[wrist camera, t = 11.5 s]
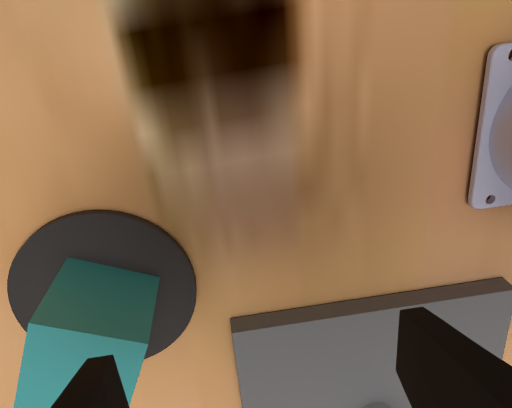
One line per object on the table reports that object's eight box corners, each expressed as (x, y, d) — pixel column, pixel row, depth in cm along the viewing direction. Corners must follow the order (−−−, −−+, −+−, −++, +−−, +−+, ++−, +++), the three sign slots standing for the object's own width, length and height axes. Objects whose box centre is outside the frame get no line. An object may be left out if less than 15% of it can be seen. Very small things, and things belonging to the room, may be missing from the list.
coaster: (180, 198, 19) (180, 203, 19) (207, 343, 23) (207, 351, 22) (-15, 223, 19) (-22, 229, 18) (44, 368, 22) (40, 377, 22)
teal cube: (159, 277, 20) (148, 344, 16) (139, 344, 22) (124, 422, 17) (67, 257, 19) (28, 323, 15) (52, 329, 21) (13, 408, 16)
